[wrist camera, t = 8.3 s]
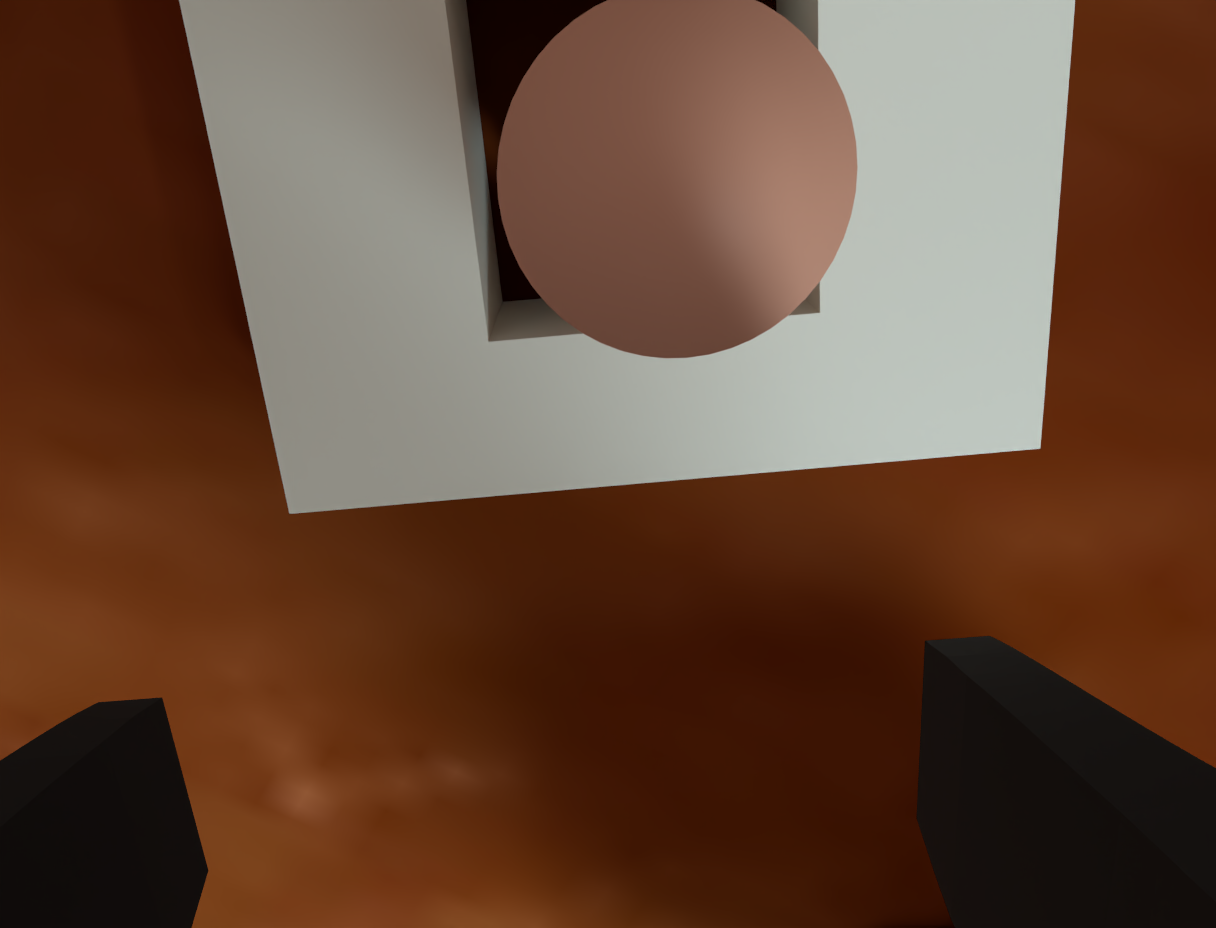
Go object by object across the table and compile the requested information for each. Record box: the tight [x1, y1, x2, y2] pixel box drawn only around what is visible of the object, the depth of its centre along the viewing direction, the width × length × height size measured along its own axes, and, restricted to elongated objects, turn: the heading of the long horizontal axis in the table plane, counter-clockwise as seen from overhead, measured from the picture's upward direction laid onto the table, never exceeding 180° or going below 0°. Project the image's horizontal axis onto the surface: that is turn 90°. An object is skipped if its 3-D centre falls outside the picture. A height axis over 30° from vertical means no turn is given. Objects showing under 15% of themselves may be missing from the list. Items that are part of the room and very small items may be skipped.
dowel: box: [497, 0, 858, 358], centre depth 13 cm, size 3×3×8 cm
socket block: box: [179, 0, 1075, 514], centre depth 15 cm, size 12×10×3 cm
